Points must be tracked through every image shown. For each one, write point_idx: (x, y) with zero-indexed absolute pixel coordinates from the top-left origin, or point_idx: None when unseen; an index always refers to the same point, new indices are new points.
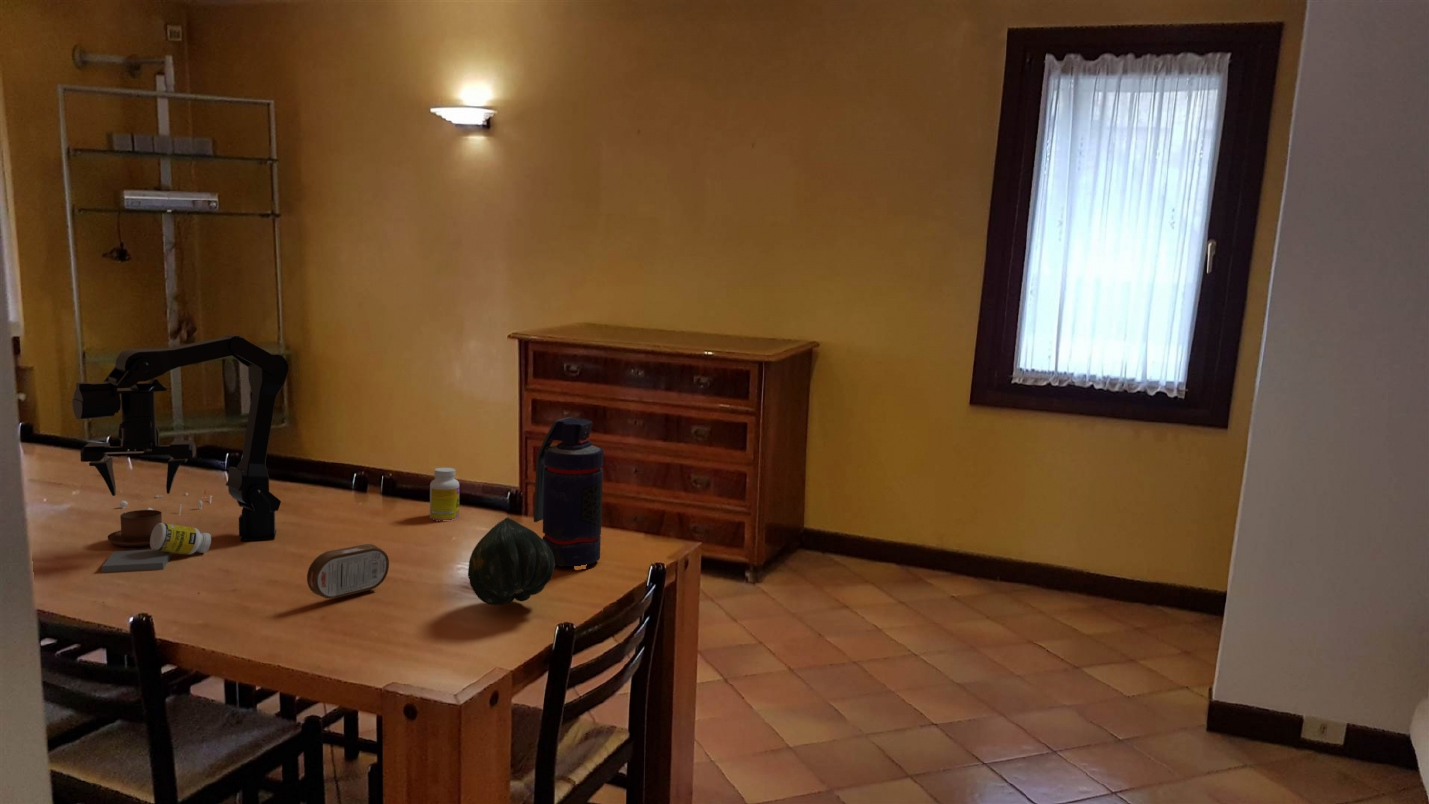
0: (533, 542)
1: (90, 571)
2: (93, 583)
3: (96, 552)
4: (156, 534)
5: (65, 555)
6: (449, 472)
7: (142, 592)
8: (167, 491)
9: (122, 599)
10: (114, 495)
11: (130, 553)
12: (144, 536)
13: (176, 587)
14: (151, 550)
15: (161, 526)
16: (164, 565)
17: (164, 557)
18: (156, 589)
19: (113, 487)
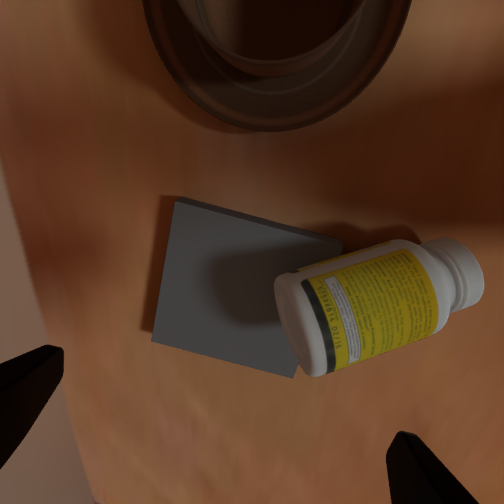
0: None
1: (130, 307)
2: (145, 396)
3: (125, 98)
4: (294, 324)
5: (36, 96)
6: None
7: (234, 482)
8: (392, 479)
9: (200, 499)
10: (60, 376)
11: (220, 249)
12: (276, 76)
13: (296, 484)
14: (281, 242)
15: (311, 370)
16: None
17: None
18: (260, 479)
19: (12, 453)
